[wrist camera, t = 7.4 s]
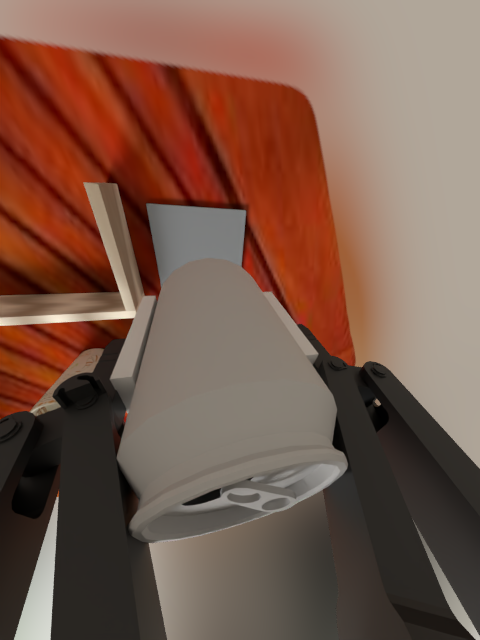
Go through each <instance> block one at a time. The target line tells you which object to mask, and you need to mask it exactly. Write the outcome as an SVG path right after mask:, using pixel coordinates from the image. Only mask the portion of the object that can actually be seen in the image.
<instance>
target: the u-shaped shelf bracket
mask: <svg viewBox="0 0 480 640" xmlns="http://www.w3.org/2000/svg"><path fill="white" fill-rule="evenodd" d="M83 183H84V182H83ZM84 186H85V189H86V192H87V195H88V198H89V201H90V204H91V207H92V210H93V213H94V216H95V219H96V222H97V225H98V228H99V231H100V234H101V237H102V240H103V243H104V246H105V249H106V252H107V255H108V258H109V261H110V264H111V267H112V270H113V273H114V276H115V279H116V282H117V285H118V288H119V291H120V292H102V293H69V294H35V295H2V296H0V326H7V325H24V324H41V323H58V322H75V321H92V320H109V319H125V318H135V315H136V313H137V310H138V308H139V305H140V303H141V300H142V298H143V296H145V295H144V291H143V287H142V283H141V279H140V275H139V271H138V267H137V263H136V259H135V255H134V251H133V247H132V242H131V238H130V234H129V230H128V226H127V222H126V218H125V214H124V210H123V206H122V202H121V198H120V194H119V190H118V186H117V184H114V183H84Z"/></svg>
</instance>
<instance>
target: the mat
mask: <svg viewBox="0 0 480 640" xmlns="http://www.w3.org/2000/svg"><path fill="white" fill-rule="evenodd" d="M146 206H147V211H148V217H149V222H150V228H151V233H152V239H153V244H154V250H155V255H156V260H157V266H158V271H159V277H160V282H161V288H162V285H163V283H164V282H165V281H166V280H167V279H168V277H169V276H170V275H171V274H172V272H173V271H175V270H176V269H178V268H180V267H181V266H183V265H185V264H186V263H188V262H191V261H195V260H200V259H204V258H214V259H224V260H227V261H230V262H232V263H234V264H236V265H239V266H242V254H243V242H244V230H245V218H246V210H238V209H223V208H209V207H195V206H180V205H166V204H151V203H146Z"/></svg>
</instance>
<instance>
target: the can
mask: <svg viewBox="0 0 480 640" xmlns="http://www.w3.org/2000/svg"><path fill="white" fill-rule="evenodd" d="M336 413H337V407H336V404H335V400H334V397H333V395H332V393H331V392H330V390H329V389H328V387H327V386H326V384H325V383H324V381H323V380H322V379H321V377H320V376H319V374H318V373H317V371H316V370H315V368H314V367H313V365H312V364H311V362H310V361H309V360H308V358H307V357H306V355H305V354H304V352H303V351H302V349H301V348H300V346H299V345H298V343H297V342H296V341H295V339H294V338H293V336H292V335H291V333H290V332H289V330H288V329H287V327H286V326H285V324H284V323H283V322H282V320H281V319H280V317H279V316H278V314H277V313H276V311H275V310H274V308H273V307H272V305H271V304H270V303H269V301H268V300H267V298H266V297H265V295H264V294H263V292H262V291H261V289H260V288H259V286H258V285H257V284H256V282H255V281H254V279H253V278H252V277H251V276H250V275H249V274H248V273H247V272H246V271H245V270H244V269H243V268H242V267H241V266H239V265H236V264H234V263H232V262H230V261H227V260H224V259H214V258H204V259H200V260H195V261H191V262H188V263H186V264H185V265H183V266H181V267H180V268H178V269H176V270H175V271H173V272H172V274H171V275H170V276H169V277H168V279H167V280H166V281H165V282H164V283H163V285H162V289H161V292H160V295H159V298H158V302H157V305H156V309H155V313H154V317H153V321H152V324H151V328H150V332H149V336H148V340H147V343H146V347H145V351H144V355H143V359H142V362H141V366H140V370H139V374H138V377H137V381H136V385H135V389H134V393H133V396H132V400H131V404H130V408H129V412H128V415H127V419H126V423H125V427H124V431H123V434H122V438H121V442H120V446H119V449H118V453H117V458H116V459H117V462H118V465H119V468H120V470H121V472H122V473H123V475H124V477H125V478H126V480H127V482H128V484H129V485H130V487H131V489H132V490H133V492H134V493H135V495H136V496H137V498H138V499H139V505H138V510H137V512H136V514H135V515H134V517H133V518H132V520H131V521H130V523H129V524H128V530H129V532H130V534H131V536H132V537H134V538H136V539H138V540H140V541H142V542H147V543H158V542H168V541H176V540H181V539H186V538H191V537H196V536H201V535H205V534H208V533H212V532H216V531H220V530H223V529H227V528H230V527H234V526H237V525H240V524H243V523H246V522H249V521H252V520H255V519H258V518H261V517H263V516H266V515H269V514H271V513H274V512H278V511H283V510H286V509H288V508H290V507H292V506H294V505H295V504H296V503H297V502H300V501H302V500H304V499H306V498H308V497H310V496H312V495H314V494H316V493H317V492H319V491H321V490H323V489H325V488H326V487H328V486H329V485H331V484H332V483H333V482H334V481H336V480H337V479H338V478H339V477H340V476H342V475H343V474H344V472H345V471H346V470H347V467H348V462H347V459H346V457H345V455H344V453H343V452H341V451H339V450H337V449H335V448H334V447H333V445H332V441H333V434H334V427H335V420H336Z"/></svg>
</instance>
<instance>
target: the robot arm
mask: <svg viewBox="0 0 480 640" xmlns="http://www.w3.org/2000/svg"><path fill="white" fill-rule="evenodd" d="M263 294H264V295H265V297H266V298H267V300H268V301H269V303H270V304H271V305H272V307H273V308H274V310H275V311H276V313H277V314H278V316H279V317H280V319H281V320H282V322H283V323H284V324H285V326H286V327H287V329H288V330H289V332H290V333H291V335H292V336H293V338H294V339H295V341H296V342H297V343H298V345H299V346H300V348H301V349H302V351H303V352H304V354H305V355H306V357H307V358H308V360H309V361H310V362H311V364H312V365H313V367H314V368H315V370H316V371H317V373H318V374H319V376H320V377H321V379H322V380H323V381H324V383H325V384H326V386H327V387H328V389H329V390H330V392H331V393H332V395H333V397H334V400H335V404H336V407H337V413H336V420H335V427H334V434H333V441H332V445H333V447H334V448H335V449H337V450H339V451H341V452H343V453H344V455H345V457H346V459H347V462H348V467H347V470H346V471H345V472H344V474H343V475H342V476H340V477H339V478H338V479H337V480H336V481H334V482H333V483H332V484H331V485H329V486H328V487H326V488H325V489H323V493H324V499H325V505H326V512H327V518H328V525H329V530H330V537H331V544H332V550H333V557H334V563H335V569H336V575H337V582H338V600H337V606H336V611H337V612H336V614H337V615H336V618H337V628H338V636H339V640H475V639H474V638H473V636H472V635H471V634H470V633H469V632H468V631H467V630H466V629H465V628H464V627H463V626H462V625H461V623H460V622H459V621H458V620H457V619H456V617H455V616H454V614H453V613H452V611H451V609H450V607H449V605H448V603H447V601H446V599H445V597H444V594H443V592H442V589H441V587H440V585H439V582H438V580H437V577H436V575H435V573H434V570H433V568H432V565H431V563H430V561H429V558H428V556H427V553H426V551H425V549H424V546H423V544H422V541H421V539H420V537H419V534H418V532H417V529H416V527H415V525H414V522H415V524H416V525H417V527H418V529H419V531H420V532H421V534H422V536H423V538H424V539H425V541H426V543H427V545H428V546H429V548H430V550H431V552H432V553H433V555H434V557H435V559H436V560H437V562H438V564H439V566H440V567H441V569H442V571H443V573H444V574H445V576H446V578H447V580H448V581H449V583H450V585H451V586H452V588H453V590H454V592H455V593H456V595H457V597H458V599H459V600H460V602H461V604H462V606H463V607H464V609H465V611H466V613H467V614H468V616H469V618H470V619H471V621H472V623H473V625H474V627H475V628H476V630H477V632H478V634H479V635H480V469H479V468H478V467H477V466H476V464H475V463H474V462H473V461H472V460H471V459H470V458H469V457H468V456H467V455H466V453H464V451H463V450H462V449H461V448H460V447H459V446H458V445H457V444H456V443H455V441H454V440H453V439H452V438H451V437H450V436H449V435H448V434H447V433H446V432H445V431H444V429H443V428H442V427H441V426H440V425H439V424H438V423H437V422H436V421H435V419H433V417H432V416H431V415H430V414H429V413H428V412H427V411H426V410H425V409H424V408H423V406H422V405H421V404H420V403H419V402H418V401H417V400H416V399H415V398H414V397H413V395H412V394H411V393H410V392H409V391H408V390H407V389H406V388H405V387H404V386H403V385H402V383H401V382H400V381H399V380H398V379H397V378H396V377H395V376H394V375H393V374H392V373H391V371H390V370H388V369H387V368H386V367H385V366H383V365H381V364H379V363H376V362H371V361H369V362H366V363H365V364H364V366H363V367H355V366H349V365H347V363H345V362H344V361H343V360H342V359H340V358H338V357H335V356H330V354H329V353H328V352H327V351H326V349H325V348H324V347H323V346H322V345H321V343H320V342H319V341H318V340H317V339H316V337H315V336H314V335H313V334H312V333H311V331H310V330H309V329H308V328H307V327H305V326H304V325H302V324H298V325H296V324H295V322H294V321H293V320H292V318H291V317H290V316H289V315H288V313H287V312H286V311H285V309H284V308H283V307H282V305H281V304H280V303H279V301H278V300H277V299H276V297H275V296H274V295H273V294H272V292H263ZM156 305H157V300H156V296H143V298H142V300H141V303H140V305H139V308H138V310H137V313H136V315H135V318H134V320H133V323H132V325H131V328H130V330H129V333H128V335H127V338H126V339H115V340H112V341H111V342H110V343H109V344H108V345H107V346H106V347H105V349H104V351H103V353H102V356H101V357H100V359H99V361H98V363H97V365H96V367H95V368H94V370H93V372H92V373H87V372H85V373H81V374H77V375H74V376H72V377H70V378H68V379H67V380H65V381H64V382H62V383H61V384H60V385H59V386H58V387H57V388H56V389H55V391H54V393H53V396H52V397H53V398H54V399H55V400H56V401H57V403H58V404H59V405H60V406H61V407H59V408H57V409H54V410H51V411H49V412H46V413H43V414H41V415H38V416H35V415H34V414H33V413H31V412H28V411H23V412H17V413H14V414H11V415H8V416H6V417H4V418H2V419H0V640H14V637H15V634H16V630H17V627H18V624H19V620H20V617H21V614H22V610H23V607H24V604H25V600H26V597H27V593H28V590H29V587H30V584H31V580H32V577H33V574H34V570H35V567H36V564H37V560H38V557H39V554H40V550H41V547H42V544H43V540H44V537H45V534H46V531H47V527H48V524H49V520H50V517H51V514H52V510H53V507H54V504H55V500H56V497H57V494H58V491H59V503H58V521H57V537H56V555H55V572H54V589H53V607H52V626H51V640H167V637H166V632H165V627H164V622H163V617H162V611H161V606H160V601H159V595H158V590H157V585H156V580H155V575H154V570H153V564H152V559H151V554H150V549H149V543H147V542H142V541H140V540H138V539H136V538H134V537H132V536H131V534H130V532H129V530H128V524H129V523H130V521H131V520H132V518H133V517H134V515H135V514H136V512H137V510H138V505H139V499H138V498H137V496H136V495H135V493H134V492H133V490H132V489H131V487H130V485H129V484H128V482H127V480H126V478H125V477H124V475H123V473H122V472H121V470H120V468H119V465H118V462H117V459H116V458H117V453H118V449H119V446H120V442H121V438H122V434H123V431H124V427H125V422H124V420H123V419H124V416H125V412H126V411H127V413H128V412H129V408H130V404H131V400H132V396H133V393H134V389H135V385H136V381H137V377H138V374H139V370H140V366H141V362H142V359H143V355H144V351H145V347H146V343H147V340H148V336H149V332H150V328H151V324H152V321H153V317H154V313H155V309H156ZM376 399H378V400H379V401H380V403H381V405H380V406H378V405H376V403H375V402H374V401H375V400H376ZM412 519H413V520H414V522H413V520H412Z"/></svg>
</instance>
